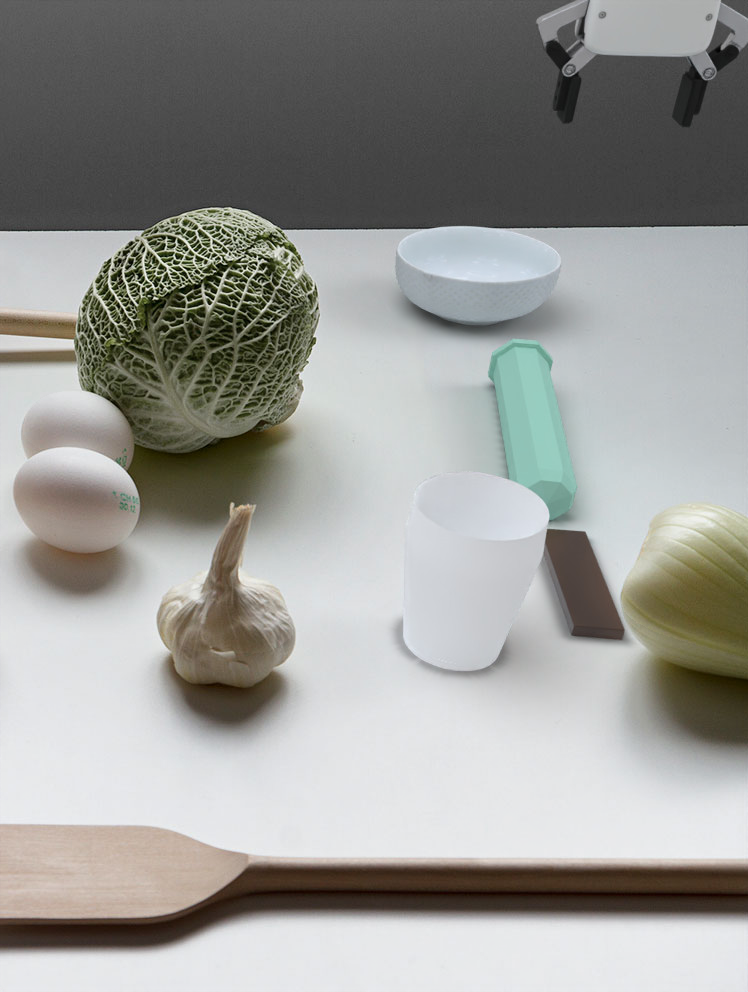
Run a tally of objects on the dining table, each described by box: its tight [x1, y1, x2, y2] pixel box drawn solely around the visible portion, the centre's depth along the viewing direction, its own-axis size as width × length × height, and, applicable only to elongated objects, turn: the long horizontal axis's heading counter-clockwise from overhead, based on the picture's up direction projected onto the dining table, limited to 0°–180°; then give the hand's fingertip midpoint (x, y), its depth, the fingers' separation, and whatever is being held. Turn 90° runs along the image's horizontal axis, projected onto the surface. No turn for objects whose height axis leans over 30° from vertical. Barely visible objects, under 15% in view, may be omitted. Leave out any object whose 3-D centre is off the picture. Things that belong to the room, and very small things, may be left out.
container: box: [487, 338, 578, 521], centre depth 115 cm, size 6×6×25 cm
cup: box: [402, 471, 550, 672], centre depth 90 cm, size 9×9×12 cm
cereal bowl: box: [394, 225, 562, 326], centre depth 141 cm, size 17×17×7 cm
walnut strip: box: [543, 528, 626, 641], centre depth 99 cm, size 4×13×1 cm, turn 171°
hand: (621, 121), depth 113 cm, fingers open, 9 cm apart
